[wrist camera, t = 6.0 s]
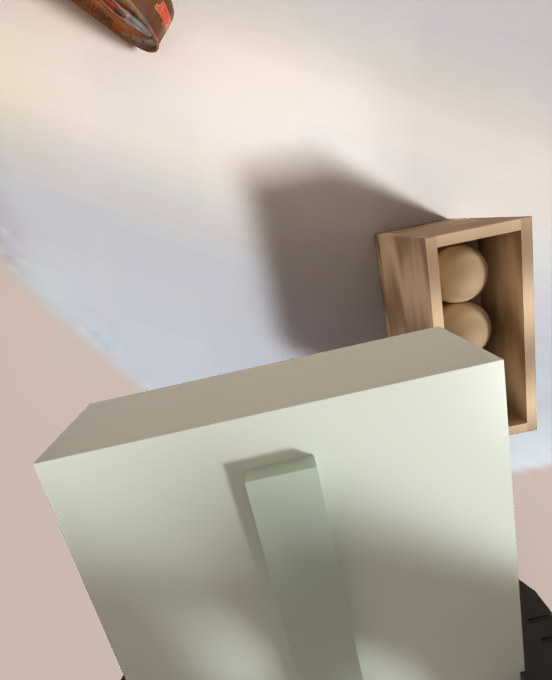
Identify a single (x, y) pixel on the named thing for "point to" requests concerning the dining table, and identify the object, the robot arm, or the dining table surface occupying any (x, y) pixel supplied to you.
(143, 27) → the tin
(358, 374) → the lid
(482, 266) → the oak box
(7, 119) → the dining table surface
